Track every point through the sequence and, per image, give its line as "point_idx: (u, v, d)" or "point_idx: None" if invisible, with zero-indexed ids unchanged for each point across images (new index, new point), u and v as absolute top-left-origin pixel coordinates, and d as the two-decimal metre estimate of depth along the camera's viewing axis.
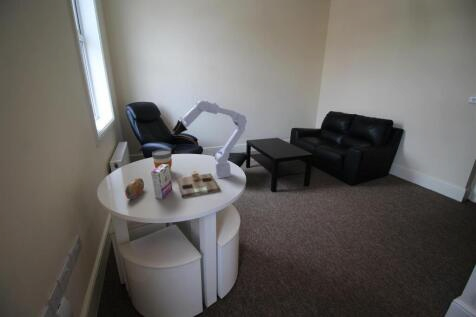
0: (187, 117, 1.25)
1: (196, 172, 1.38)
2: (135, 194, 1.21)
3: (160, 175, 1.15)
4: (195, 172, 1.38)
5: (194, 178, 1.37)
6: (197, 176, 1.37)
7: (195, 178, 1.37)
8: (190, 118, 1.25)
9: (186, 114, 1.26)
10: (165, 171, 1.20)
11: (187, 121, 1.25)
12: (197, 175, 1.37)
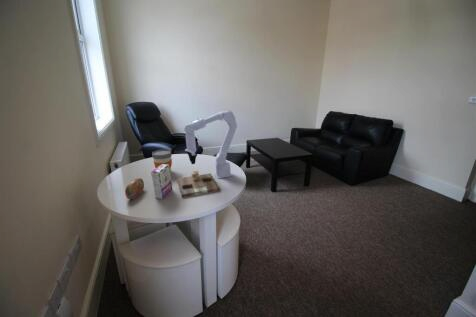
0: (189, 146, 1.36)
1: (196, 172, 1.38)
2: (135, 194, 1.21)
3: (160, 175, 1.15)
4: (195, 172, 1.38)
5: (194, 178, 1.37)
6: (197, 176, 1.37)
7: (195, 178, 1.37)
8: (191, 145, 1.36)
9: (186, 144, 1.37)
10: (165, 171, 1.20)
11: (191, 149, 1.37)
12: (197, 175, 1.37)
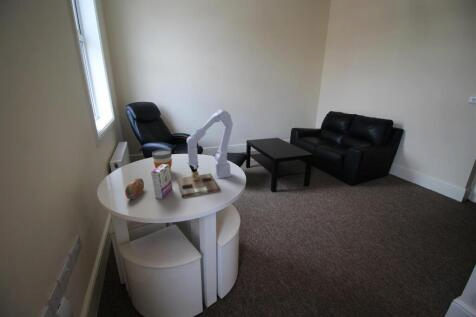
0: (191, 159, 1.35)
1: (196, 172, 1.38)
2: (135, 194, 1.21)
3: (160, 175, 1.15)
4: (195, 172, 1.38)
5: (194, 178, 1.37)
6: (197, 176, 1.37)
7: (195, 178, 1.37)
8: (193, 158, 1.35)
9: (188, 157, 1.36)
10: (165, 171, 1.20)
11: (194, 162, 1.36)
12: (197, 175, 1.37)
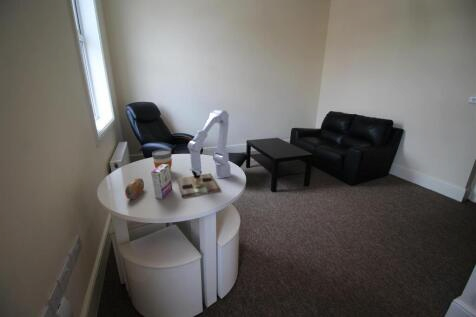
0: (194, 165, 1.26)
1: (199, 179, 1.29)
2: (135, 194, 1.21)
3: (160, 175, 1.15)
4: (198, 179, 1.29)
5: (197, 185, 1.28)
6: (200, 183, 1.28)
7: (198, 185, 1.28)
8: (196, 163, 1.26)
9: (191, 163, 1.27)
10: (165, 171, 1.20)
11: (196, 167, 1.27)
12: (200, 182, 1.28)
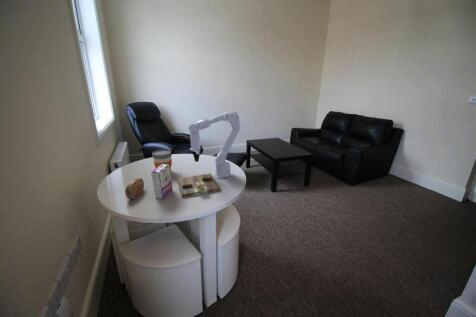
0: (193, 145, 1.38)
1: (201, 183, 1.24)
2: (135, 194, 1.21)
3: (160, 175, 1.15)
4: (200, 183, 1.24)
5: (199, 189, 1.23)
6: (202, 187, 1.23)
7: (200, 189, 1.23)
8: (196, 144, 1.38)
9: (191, 143, 1.39)
10: (165, 171, 1.20)
11: (196, 148, 1.39)
12: (202, 186, 1.23)
